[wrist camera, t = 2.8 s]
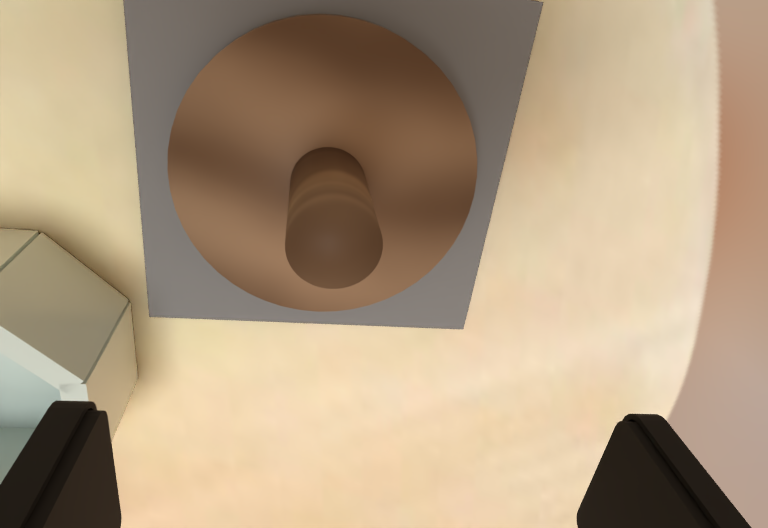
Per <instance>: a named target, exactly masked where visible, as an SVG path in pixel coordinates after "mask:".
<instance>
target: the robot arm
mask: <svg viewBox="0 0 768 528" xmlns="http://www.w3.org/2000/svg"><path fill="white" fill-rule="evenodd" d="M577 525H578V528H751V527H750V525H749V524H748V523H747V522H746V520H745V519H744V518H743V517H742V515H741V514H740V513H739V512H738V510H737V509H736V508H735V507H734V505H733V504H732V503H731V502H730V500H729V499H728V498H727V496H725V494H724V493H723V491H721V489H720V488H719V486H718V485H717V484H716V483H715V481H714V480H713V479H712V478H711V476H710V475H709V474H708V473H707V471H706V470H705V469H704V468H703V466H702V465H701V464H700V463H699V461H698V460H697V459H696V458H695V456H694V455H693V454H692V453H691V451H690V450H689V449H688V448H687V446H686V445H685V444H684V442H683V441H682V440H681V439H680V437H679V436H678V435H677V434H676V433H675V431H674V430H673V429H672V428H671V426H670V425H669V424H668V422H667V421H666V420H665V419H664V418H663V417H662V416H660V415H657V414H628V415H626V416H625V417H624V419H623V420H622V421H620V422H618V423H617V425H616V426H615V428H614V431H613V433H612V435H611V437H610V440H609V442H608V444H607V446H606V449H605V451H604V453H603V456H602V458H601V460H600V462H599V465H598V467H597V469H596V471H595V474H594V476H593V478H592V480H591V483H590V485H589V487H588V489H587V492H586V494H585V496H584V498H583V501H582V503H581V505H580V507H579V510H578V513H577ZM120 527H121V510H120V503H119V495H118V488H117V481H116V473H115V466H114V459H113V451H112V444H111V436H110V429H109V422H108V415H107V412H106V411H103V410H97V407H96V404H95V403H94V402H92V401H57V400H56V401H55V402H53V403H52V404H51V405H50V407H49V408H48V409H47V411H46V413H45V414H44V416H43V417H42V419H41V421H40V422H39V424H38V425H37V427H36V429H35V430H34V432H33V433H32V435H31V436H30V438H29V440H28V441H27V443H26V444H25V446H24V448H23V449H22V451H21V452H20V454H19V456H18V457H17V459H16V460H15V462H14V463H13V465H12V467H11V468H10V470H9V471H8V473H7V475H6V476H5V478H4V479H3V481H2V483H1V484H0V528H120Z"/></svg>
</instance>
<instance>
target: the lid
mask: <svg viewBox="0 0 768 528" xmlns="http://www.w3.org/2000/svg"><path fill="white" fill-rule="evenodd" d="M168 179H169V186H170V192H171V196H172V199H173V203H174V207H175V210H176V212H177V215H178V217H179V219H180V222H181V224H182V226H183V228H184V230H185V232H186V233H187V235H188V237H189V238H190V240H191V242H192V243H193V245H194V246H195V247H196V249H197V250H198V251H199V253H200V254H201V255H202V256H203V258H204V259H205V260H206V261H207V262H208V263H209V264H210V265H211V266H212V267H213V268H214V269H215V270H216V271H217V272H218V273H220V274H221V275H222V276H223V277H225V278H226V279H227V280H229V281H230V282H231V283H232V284H234V285H236V286H237V287H239V288H241V289H242V290H244V291H246V292H247V293H249V294H251V295H253V296H256V297H258V298H260V299H262V300H264V301H267V302H270V303H273V304H276V305H280V306H283V307H288V308H293V309H297V310H305V311H316V312H327V311H342V310H350V309H355V308H360V307H364V306H368V305H371V304H374V303H377V302H380V301H383V300H385V299H388V298H390V297H392V296H394V295H396V294H398V293H400V292H402V291H403V290H405V289H407V288H408V287H410V286H411V285H413V284H414V283H416V282H417V281H419V280H420V279H421V278H422V277H424V276H425V275H426V274H427V273H428V272H430V271H431V270H432V269H433V268H434V267H435V266H436V265H437V264H438V263H439V262H440V260H441V259H442V258H443V257H444V256H445V254H446V253H447V252H448V251H449V249H450V248H451V247H452V245H453V244H454V242H455V240H456V239H457V237H458V235H459V234H460V232H461V230H462V228H463V226H464V224H465V221H466V219H467V217H468V214H469V211H470V208H471V205H472V201H473V198H474V193H475V186H476V180H477V152H476V143H475V137H474V133H473V130H472V126H471V122H470V119H469V116H468V114H467V111H466V109H465V107H464V104H463V102H462V100H461V98H460V97H459V95H458V93H457V91H456V90H455V88H454V86H453V85H452V83H451V82H450V81H449V79H448V78H447V77H446V76H445V74H444V73H443V72H442V70H441V69H440V68H439V67H438V66H437V65H436V64H435V63H434V62H433V61H432V60H431V59H430V58H429V57H428V56H427V55H426V54H425V53H423V52H422V51H421V50H419V49H418V48H416V47H415V46H414V45H412V44H411V43H410V42H408V41H407V40H405V39H404V38H402V37H401V36H399V35H397V34H395V33H393V32H391V31H389V30H388V29H386V28H384V27H382V26H379V25H376V24H373V23H371V22H368V21H365V20H362V19H357V18H353V17H348V16H343V15H332V14H308V15H296V16H292V17H288V18H283V19H279V20H275V21H272V22H270V23H267V24H265V25H262V26H259V27H257V28H254V29H253V30H251V31H249V32H247V33H246V34H244V35H242V36H240V37H239V38H237V39H235V40H234V41H233V42H232V43H230V44H229V45H228V46H227V47H225V48H224V49H223V50H221V51H220V52H219V53H218V54H217V55H216V56H214V57H213V59H212V60H211V61H210V62H209V63H208V64H207V65H206V66H205V67H204V68H203V69H202V70H201V71H200V72H199V74H198V75H197V77H196V78H195V79H194V81H193V82H192V84H191V85H190V87H189V88H188V90H187V91H186V93H185V95H184V97H183V99H182V101H181V103H180V106H179V108H178V110H177V113H176V116H175V119H174V122H173V125H172V128H171V133H170V139H169V146H168Z"/></svg>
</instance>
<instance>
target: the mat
mask: <svg viewBox="0 0 768 528" xmlns="http://www.w3.org/2000/svg"><path fill="white" fill-rule="evenodd" d="M123 1H124V13H125V25H126V37H127V50H128V62H129V74H130V86H131V98H132V110H133V123H134V135H135V147H136V159H137V171H138V184H139V196H140V208H141V220H142V232H143V244H144V257H145V269H146V281H147V293H148V305H149V317H166V318H191V319H216V320H241V321H266V322H291V323H317V324H342V325H367V326H392V327H417V328H442V329H463V328H464V324H465V320H466V316H467V312H468V308H469V304H470V299H471V295H472V291H473V287H474V283H475V279H476V275H477V271H478V267H479V263H480V259H481V255H482V251H483V246H484V242H485V238H486V234H487V230H488V226H489V222H490V218H491V214H492V210H493V206H494V202H495V197H496V193H497V189H498V185H499V181H500V177H501V173H502V169H503V165H504V161H505V157H506V153H507V148H508V144H509V140H510V136H511V132H512V128H513V124H514V120H515V116H516V112H517V108H518V104H519V99H520V95H521V91H522V87H523V83H524V79H525V75H526V71H527V67H528V63H529V59H530V55H531V50H532V46H533V42H534V38H535V34H536V30H537V26H538V22H539V18H540V14H541V10H542V6H543V2H539V1H532V0H123ZM308 14H332V15H343V16H348V17H353V18H357V19H362V20H365V21H368V22H371V23H373V24H376V25H379V26H382V27H384V28H386V29H388V30H389V31H391V32H393V33H395V34H397V35H399V36H401V37H402V38H404V39H405V40H407V41H408V42H410V43H411V44H412V45H414V46H415V47H416V48H418V49H419V50H421V51H422V52H423V53H425V54H426V55H427V56H428V57H429V58H430V59H431V60H432V61H433V62H434V63H435V64H436V65H437V66H438V67H439V68H440V69H441V70H442V72H443V73H444V74H445V76H446V77H447V78H448V79H449V81H450V82H451V83H452V85H453V86H454V88H455V90H456V91H457V93H458V95H459V97H460V98H461V100H462V102H463V104H464V107H465V109H466V111H467V114H468V116H469V119H470V122H471V126H472V130H473V133H474V137H475V143H476V152H477V180H476V186H475V193H474V198H473V201H472V205H471V208H470V211H469V214H468V217H467V219H466V221H465V224H464V226H463V228H462V230H461V232H460V234H459V235H458V237H457V239H456V240H455V242H454V244H453V245H452V247H451V248H450V249H449V251H448V252H447V253H446V254H445V256H444V257H443V258H442V259H441V260H440V262H439V263H438V264H437V265H436V266H435V267H434V268H433V269H432V270H431V271H430V272H428V273H427V274H426V275H425V276H424V277H422V278H421V279H420V280H419V281H417V282H416V283H414V284H413V285H411V286H410V287H408V288H407V289H405V290H403V291H402V292H400V293H398V294H396V295H394V296H392V297H390V298H388V299H385V300H383V301H380V302H377V303H374V304H371V305H368V306H364V307H360V308H355V309H350V310H342V311H327V312H316V311H305V310H297V309H293V308H288V307H283V306H280V305H276V304H273V303H270V302H267V301H264V300H262V299H260V298H258V297H256V296H253V295H251V294H249V293H247V292H246V291H244V290H242V289H241V288H239V287H237V286H236V285H234V284H232V283H231V282H230V281H229V280H227V279H226V278H225V277H223V276H222V275H221V274H220V273H218V272H217V271H216V270H215V269H214V268H213V267H212V266H211V265H210V264H209V263H208V262H207V261H206V260H205V259H204V258H203V256H202V255H201V254H200V253H199V251H198V250H197V249H196V247H195V246H194V245H193V243H192V242H191V240H190V238H189V237H188V235H187V233H186V232H185V230H184V228H183V226H182V224H181V222H180V219H179V217H178V215H177V212H176V210H175V207H174V203H173V199H172V196H171V192H170V186H169V179H168V146H169V139H170V133H171V128H172V125H173V122H174V119H175V116H176V113H177V110H178V108H179V106H180V103H181V101H182V99H183V97H184V95H185V93H186V91H187V90H188V88H189V87H190V85H191V84H192V82H193V81H194V79H195V78H196V77H197V75H198V74H199V72H200V71H201V70H202V69H203V68H204V67H205V66H206V65H207V64H208V63H209V62H210V61H211V60H212V59H213V57H214V56H216V55H217V54H218V53H219V52H220V51H221V50H223V49H224V48H225V47H227V46H228V45H229V44H230V43H232V42H233V41H234V40H235V39H237V38H239V37H240V36H242V35H244V34H246V33H247V32H249V31H251V30H253V29H254V28H257V27H259V26H262V25H265V24H267V23H270V22H272V21H275V20H279V19H283V18H288V17H292V16H296V15H308Z"/></svg>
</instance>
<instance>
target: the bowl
mask: <svg viewBox="0 0 768 528" xmlns="http://www.w3.org/2000/svg"><path fill="white" fill-rule="evenodd" d="M128 301H129V299H127V298H126V297H125V296H123V295H122V294H121V293H120V292H118V291H117V290H116V289H114V288H113V287H112V286H111V285H109V284H108V283H107V282H105V281H104V280H103V279H102V278H100V277H99V276H98V275H96V274H95V273H94V272H93V271H91V270H90V269H89V268H87V267H86V266H85V265H84V264H82V263H81V262H80V261H78V260H77V259H76V258H75V257H73V256H72V255H71V254H69V253H68V252H67V251H66V250H64V249H63V248H62V247H60V246H59V245H58V244H57V243H55V242H54V241H53V240H51V239H50V238H49V237H48V236H46V235H45V234H44V233H40V234H39V232H38V231H35V230H20V229H4V228H0V484H1V483H2V481H3V479H4V478H5V476H6V475H7V473H8V471H9V470H10V468H11V467H12V465H13V463H14V462H15V460H16V459H17V457H18V456H19V454H20V452H21V451H22V449H23V448H24V446H25V444H26V443H27V441H28V440H29V438H30V436H31V435H32V433H33V432H34V430H35V429H36V427H37V425H38V424H39V422H40V421H41V419H42V417H43V416H44V414H45V413H46V411H47V409H48V408H49V407H50V405H51V404H52V403H53V402H55V401H56V400H57V401H92V402H94V403H95V404H96V407H97V410H103V411H106V412H107V415H108V422H109V429H110V436H111V442H112V439H113V437H114V435H115V432H116V430H117V427H118V425H119V423H120V420H121V418H122V416H123V413H124V411H125V409H126V406H127V404H128V401H129V399H130V397H131V394H132V392H133V390H134V387H135V385H136V382H137V380H138V372H137V362H136V352H135V342H134V332H133V322H132V312H131V302H128Z"/></svg>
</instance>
